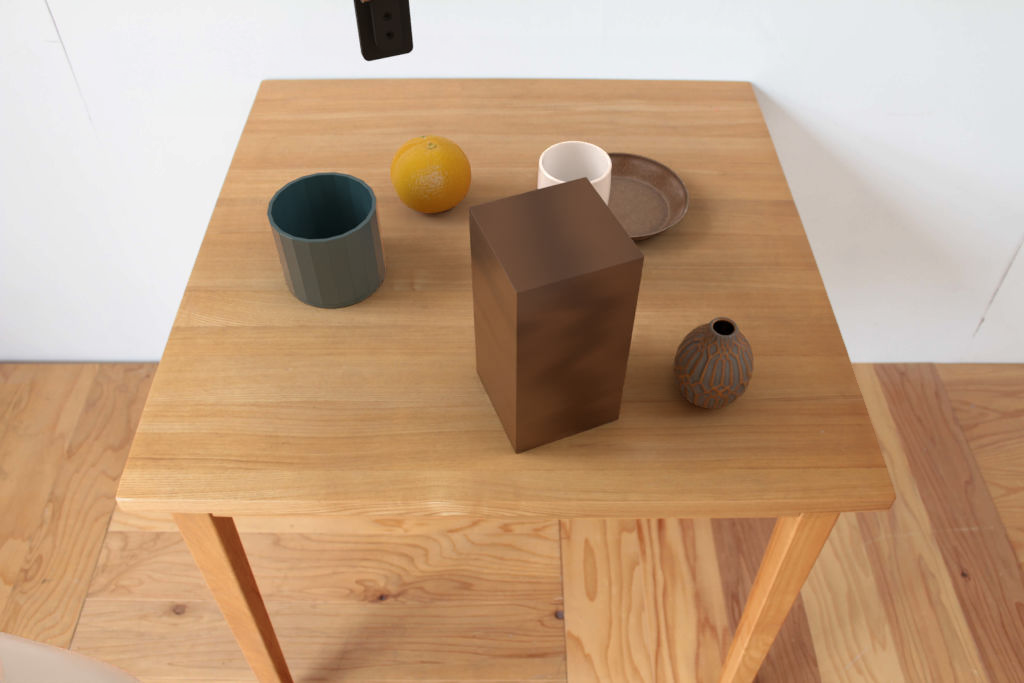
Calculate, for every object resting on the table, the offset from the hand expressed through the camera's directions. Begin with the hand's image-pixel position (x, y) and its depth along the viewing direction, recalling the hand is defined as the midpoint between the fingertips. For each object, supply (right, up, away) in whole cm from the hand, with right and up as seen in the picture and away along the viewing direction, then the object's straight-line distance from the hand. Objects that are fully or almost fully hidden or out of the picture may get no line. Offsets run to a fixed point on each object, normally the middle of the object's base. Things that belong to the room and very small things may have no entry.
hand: (366, 18), depth 56 cm
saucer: (+22, -7, +40) cm, 46 cm away
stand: (+13, -26, +23) cm, 37 cm away
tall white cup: (+15, -15, +33) cm, 39 cm away
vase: (+27, -26, +23) cm, 44 cm away
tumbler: (-9, -14, +33) cm, 37 cm away
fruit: (+1, -6, +41) cm, 41 cm away
